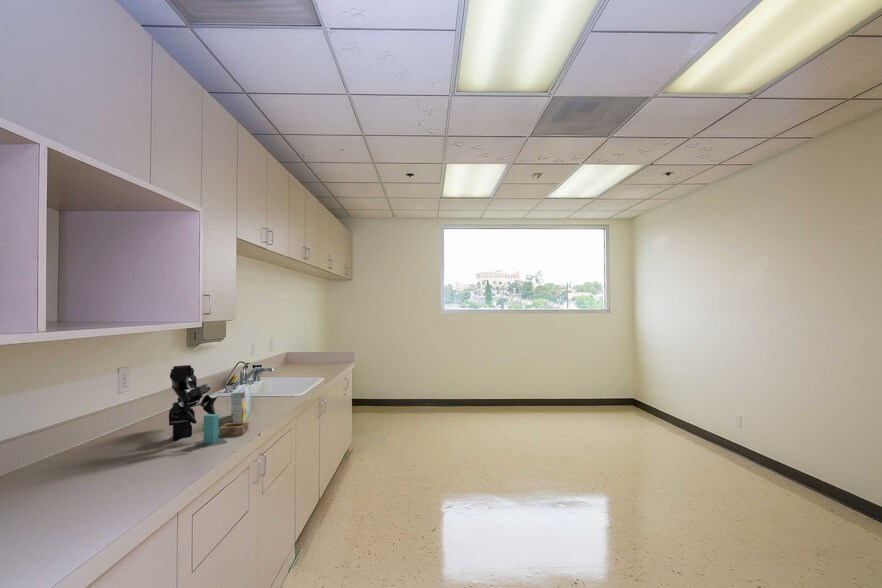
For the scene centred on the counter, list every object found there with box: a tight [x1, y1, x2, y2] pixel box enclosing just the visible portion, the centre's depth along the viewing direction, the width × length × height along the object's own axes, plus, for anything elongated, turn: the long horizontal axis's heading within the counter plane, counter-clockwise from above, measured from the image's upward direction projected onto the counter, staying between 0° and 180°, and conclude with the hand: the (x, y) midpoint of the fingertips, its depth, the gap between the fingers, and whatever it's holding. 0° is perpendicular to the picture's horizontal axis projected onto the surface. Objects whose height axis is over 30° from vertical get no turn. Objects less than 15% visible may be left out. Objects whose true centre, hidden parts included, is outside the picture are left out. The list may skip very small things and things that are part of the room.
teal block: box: [203, 413, 220, 444], centre depth 157 cm, size 5×2×11 cm, turn 73°
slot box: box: [218, 421, 250, 437], centre depth 169 cm, size 10×7×4 cm
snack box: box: [230, 383, 252, 423], centre depth 194 cm, size 21×6×15 cm, turn 17°
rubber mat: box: [194, 436, 228, 449], centre depth 157 cm, size 10×10×1 cm
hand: (205, 419), depth 159 cm, fingers open, 9 cm apart
